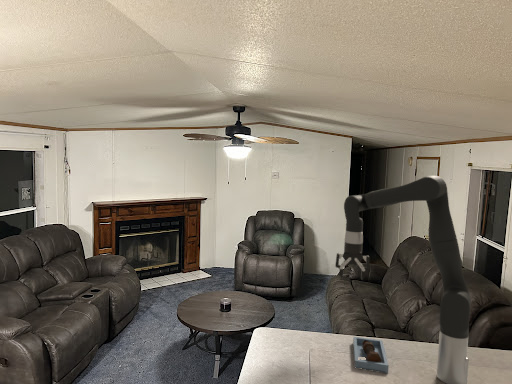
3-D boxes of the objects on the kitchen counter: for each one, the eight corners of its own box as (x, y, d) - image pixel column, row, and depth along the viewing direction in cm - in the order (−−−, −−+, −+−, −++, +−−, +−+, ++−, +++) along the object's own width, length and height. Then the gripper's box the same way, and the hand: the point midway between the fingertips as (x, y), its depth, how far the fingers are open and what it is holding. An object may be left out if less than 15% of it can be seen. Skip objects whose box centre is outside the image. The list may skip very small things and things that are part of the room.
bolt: (367, 352, 157) (375, 370, 142) (357, 345, 157) (364, 362, 142) (375, 340, 156) (384, 357, 141) (364, 334, 157) (372, 350, 142)
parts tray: (382, 347, 159) (382, 340, 159) (388, 373, 139) (388, 365, 139) (353, 343, 162) (353, 336, 162) (354, 368, 141) (355, 360, 141)
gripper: (370, 241, 163) (368, 277, 164) (336, 238, 166) (335, 274, 167) (371, 244, 156) (369, 282, 157) (336, 241, 159) (334, 279, 160)
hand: (351, 278), depth 162 cm, fingers open, 8 cm apart
